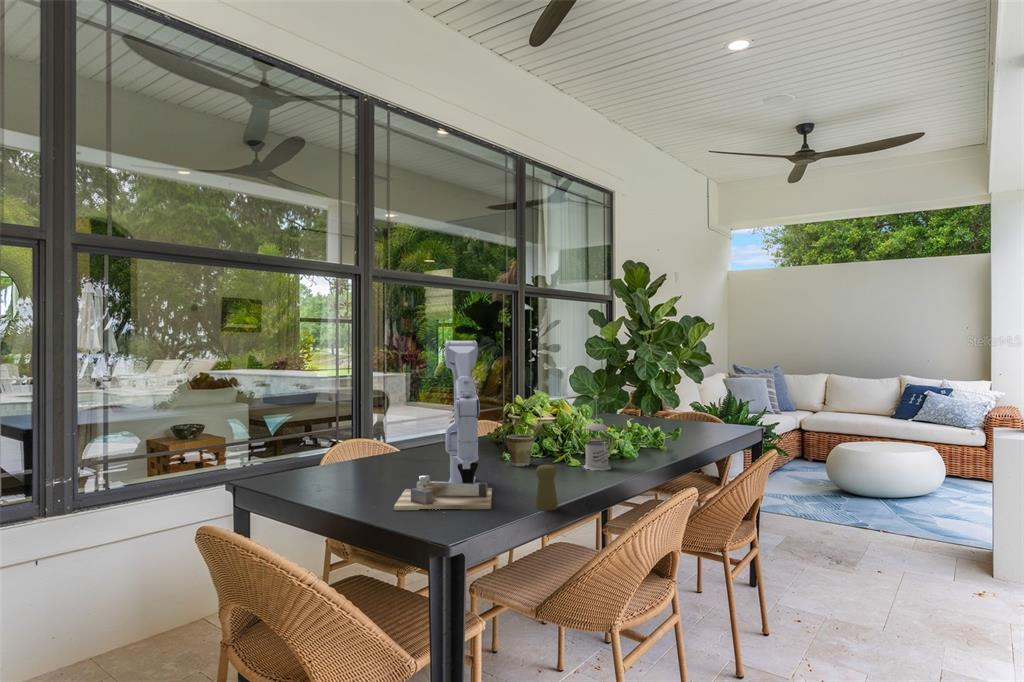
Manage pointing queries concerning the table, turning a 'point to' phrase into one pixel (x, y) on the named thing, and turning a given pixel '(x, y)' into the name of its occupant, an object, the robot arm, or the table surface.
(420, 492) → the grey rectangular block
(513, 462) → the flower pot
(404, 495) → the cracker board
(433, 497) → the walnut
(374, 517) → the table surface
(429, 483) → the lever
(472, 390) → the robot arm
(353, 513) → the table surface
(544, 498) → the pepper mill
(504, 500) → the table surface
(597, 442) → the french press
